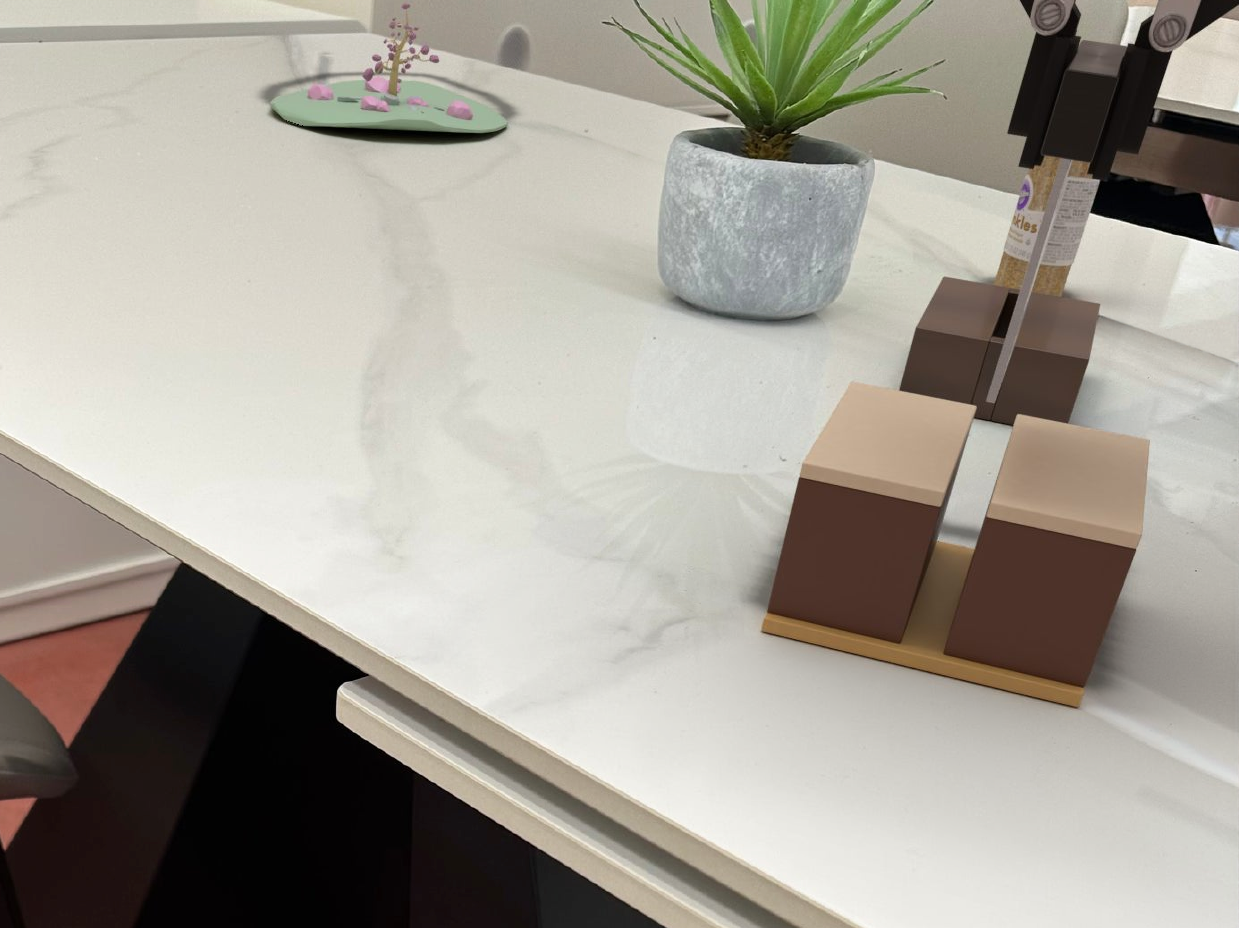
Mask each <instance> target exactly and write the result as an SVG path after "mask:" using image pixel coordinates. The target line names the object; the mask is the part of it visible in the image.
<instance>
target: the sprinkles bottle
mask: <svg viewBox="0 0 1239 928" xmlns="http://www.w3.org/2000/svg"><path fill="white" fill-rule="evenodd" d="M1060 160H1061V158H1057V157H1051V156H1045V157H1044V159H1043V162H1042V164H1041V166H1036V165H1035V167H1034V169H1029V168H1028V171H1027V174H1026V175H1025V177H1024V179H1023V183H1022V187H1021V189H1020V193H1019V196H1018V199H1017V203H1016V207H1015V210H1014V213H1013V216H1012V219H1011V223H1010V226H1009V229H1008V232H1007V235H1006V238H1005V243H1004V246H1003V253H1002V256H1001V259H1000V263H999V265H998V266H999V267H998V268H997V272H996V275H995V279H994V281H993V285H996V286H1002V287H1008V288H1013V289H1019V290H1021V286H1022V283H1023V280H1024V277H1025V273H1026V270H1027V267H1028V264H1029V261H1030V257H1031V254H1032V251H1033V248H1034V244H1035V241H1036V238H1037V235H1038V231H1039V228H1040V225H1041V222H1042V218H1043V215H1044V212H1045V209H1046V205H1047V202H1048V199H1049V196H1050V192H1051V189H1052V186H1053V183H1054V180H1055V176H1056V173H1057V170H1058V167H1059V163H1060ZM1089 165H1090V163H1088V162H1082V161H1076V160H1072V164H1071V167H1070V170H1069V173H1068V176H1067V180H1066V183H1065V186H1064V189H1063V192H1062V196H1061V199H1060V202H1059V205H1058V208H1057V211H1056V215H1055V218H1054V221H1053V224H1052V227H1051V231H1050V234H1049V237H1048V240H1047V243H1046V247H1045V250H1044V253H1043V256H1042V259H1041V263H1040V266H1039V269H1038V272H1037V275H1036V279H1035V282H1034V285H1033V288H1032V291H1031V293H1032V292H1036V293H1042V294H1047V295H1053V296H1059V297H1063V296H1062V295H1063V294H1064V290H1065V286H1066V284H1067V281H1068V277H1069V276H1070V275H1069V274H1070V271H1071V269H1072V266H1073V264H1074V262H1075V259H1076V256H1077V253H1078V252H1079V251H1078V250H1079V248H1080V244H1081V241H1082V238H1083V236H1084V232H1085V229H1086V226H1087V222H1088V220H1089V216H1090V213H1091V210H1092V207H1093V204H1094V201H1095V198H1096V194H1097V192H1098V189H1099V185H1100V182H1101V180H1096V179H1092V176H1093V175H1091V174H1087V172H1088V168H1089Z"/></svg>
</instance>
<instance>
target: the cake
mask: <svg viewBox="0 0 1239 928" xmlns="http://www.w3.org/2000/svg"><path fill="white" fill-rule="evenodd" d="M976 408H977V407H976V406H975V405H970V404H964V403H959V402H954V401H949V400H944V399H939V398H934V397H929V396H924V395H918V394H913V393H908V392H903V391H899V389H898V390H897V389H892V388H887V387H882V386H877V385H871V384H868V383H867V384H866V383H861V382H857V381H851V382H850V383H849V385H848V386H847V388H846V390H845V392H843V395H842V396H841V398H840V399H839V402H838V403H837V405H836V406H835V408H834V410H833V411H832V413H831V415H830V416H829V418H828V420H827V421H826V423H825V424H824V427H822V430H821V431H820V433H819V434H818V437H817V438H816V439H815V441H814V443H813V445H812V446H811V448H810V450H809V451H808V453H807V454H806V456H805V458H804V460H803V461H802V463H801V467H800V470H799V477H798V478H797V483H796V488H795V491H794V495H793V496H794V497H793V500H792V505H791V508H790V513H789V517H788V522H787V526H786V530H785V534H784V538H783V543H782V547H781V551H780V555H779V559H778V563H777V568H776V570H775V571H776V572H775V576H774V580H773V585H772V587H771V588H772V589H771V592H770V597H769V601H768V605H767V608H766V614H765V615H764V617H763V620H762V624H761V629H760V630H761V632H764V633H767V634H772V635H776V636H780V637H785V638H789V639H793V640H797V641H801V642H806V643H809V644H814V645H817V646H822V647H826V648H831V649H834V650H838V651H841V652H846V653H850V654H855V655H858V656H863V657H868V658H871V659H875V660H880V661H885V662H889V663H892V664H896V665H901V666H905V667H909V668H912V669H917V670H921V671H925V672H929V673H934V674H938V675H942V676H947V677H950V678H954V679H958V680H963V681H967V682H970V683H975V684H978V685H983V686H986V687H987V686H988V687H991V688H996V689H999V690H1005V691H1008V692H1012V693H1017V694H1021V695H1024V696H1029V697H1033V698H1037V699H1041V700H1045V701H1049V702H1054V703H1058V704H1062V705H1066V706H1070V707H1074V708H1079V707H1080V705H1081V702H1082V700H1083V697H1084V693H1085V688H1086V687H1087V683H1088V681H1089V678H1090V676H1091V672H1092V670H1093V667H1094V664H1095V662H1096V659H1097V657H1098V654H1099V651H1100V649H1101V646H1102V643H1103V640H1104V638H1105V636H1106V633H1107V629H1108V628H1109V624H1110V623H1111V619H1112V616H1113V614H1114V612H1115V609H1116V606H1117V603H1118V600H1119V598H1120V595H1121V592H1122V590H1123V588H1124V585H1125V582H1126V579H1127V577H1128V574H1129V571H1130V569H1131V566H1132V563H1133V561H1134V558H1135V555H1136V553H1137V549H1138V547H1139V545H1140V542H1141V539H1142V537H1143V529H1144V518H1145V508H1146V507H1145V504H1146V494H1147V482H1148V481H1147V480H1148V470H1149V469H1148V468H1149V457H1150V447H1151V446H1150V444H1151V440H1150V439H1148V438H1143V437H1138V436H1133V435H1128V434H1123V433H1117V432H1113V431H1107V430H1103V429H1097V428H1092V427H1086V426H1082V425H1076V424H1072V423H1068V424H1067V423H1062V422H1056V421H1051V420H1046V419H1041V418H1036V417H1031V416H1026V415H1021V414H1017V416H1016V419H1015V422H1014V425H1012V429H1011V431H1010V436H1009V439H1008V441H1007V445H1006V448H1005V451H1004V454H1003V458H1002V460H1001V464H1000V466H999V470H998V473H997V476H996V480H995V483H994V486H993V489H992V493H991V496H990V498H989V502H988V505H987V508H986V512H985V515H984V518H983V521H982V524H981V528H980V530H979V534H978V537H977V540H976V544H975V547H974V548H972V547H967V546H962V545H958V544H955V543H949V542H945V541H939V540H938V539H939V536H940V533H941V530H942V526H943V522H944V520H945V516H946V513H947V509H948V505H949V502H950V498H951V495H952V493H953V488H954V485H955V482H956V478H957V476H958V472H959V468H960V464H961V463H962V462H961V461H962V459H963V455H964V452H965V449H966V445H967V442H968V438H969V434H970V431H971V429H972V424H973V421H974V418H975V417H974V415H975V412H976Z"/></svg>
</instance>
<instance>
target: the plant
mask: <svg viewBox="0 0 1239 928" xmlns="http://www.w3.org/2000/svg"><path fill="white" fill-rule="evenodd" d="M409 8H411V4H409V3H407V2H405V3H403V4H402V5H401V9H403V10H405V11H406V12H405V21H406V22H405V23H406V24H405V25H404V24H403V23H401V22H397V23H396V19H397V18H396V17H393V18H392V21H391V22H390V23H389V24H388V27H389V28H390V29H392V30H394V29H395V28H396V27H397V28H400V29H401V28H402V29H403V30H405V33H404V36H403V38H402V40H401V42H400V43H398V42H397V41H396V40H397V38H395V39H391V40H388V38H385V39H384V40H383V44H387V42H388V44H387V45H386V47H387V49H388V50H389V52H388V53H387V56H388V58H387V60H386V61H385V62H383V61H382V56H381V55H379V54H377V53H375V54H374V55H372V56H371V59H372V60H373V62H377V63H376V64H375V66H374V69H373V68H372V67H369V68H366V69H365V71H364V72H363V73H362V78H363V79H353V80H344V81H343V80H342V81H337V82H333V83H329V84H328V83H327V84H323V83H313V84H312V86H311V87H309V88H306V89H303V90H298V91H294V92H289V93H285V94H281V95H277V96H276V97H275V98H273V99H272V100H271V101H270V102H269V106H270V107H271V108H272V109H273V110H274V111H275V112H276V113H277V114H278V115H279V116H280V117H281V118H282V119H283V120H285V121H286V120H287V121H286V122H288V121H290V122H293V123H292V124H294V123H296V124H295V125H297V124H299V125H298V126H302V125H303V126H304V127H324V128H325V127H326V128H329V127H330V128H346V129H348V128H349V129H369V130H373V129H374V130H392V131H393V130H395V131H396V130H397V131H419V132H443V133H471V134H473V133H474V134H484V133H492V132H497V131H500V130H502V129H504V128H506V127H507V126H508V123H509V121H508V120H507V118H505V117H504V116H503V115H502V114H500V113H498V112H497V111H496V110H494V109H492V108H491V107H489V106H488V105H487V104H484V103H483V102H480V101H477V100H475V99H472V98H470V97H467V96H464V95H462V94H460V93H457V92H454V91H451V90H450V89H447V88H445V87H442V86H439V85H436V84H433V83H429V82H426V81H420V80H402V78H399V67H400V66H399V65H402V66H403V67H402V68H401V69H400V72H401V73H402V74H403V75H404V74H406V72H407V71H406V70H409V69H411V68H412V64H411V63H410V62H413V61H414V60H419V61H421V62H423V63H424V62H425V63H426V62H430V63H433V64H439V62H440V58H439V56H438V55H437V54H431V55H430V56H429V58H428V59H425V60H424V59H423V58H422V59H421V56H420V53H421V54H422V55H423V56H427V55H429V53H430V47H429V45H428V44H424V45H422V46H421V48H420V50H419V52H418V53H417V54H415V53H416V48H414V47H411V45H412V44H414V43H413V41H414V40H415V39H416V38H417V34H416V33H415V32H416V31H419V29H420V27H418V26H414V27H412V26H411V25H409V18H408V17H409V16H408V10H407V9H409ZM395 35H396V33H395V32H394V31H392V32H391V33H390V36H391V38H393V37H394V36H395ZM400 36H401V32H398V33H397V37H400ZM408 39H409V40H408ZM407 41H408V44H409V45H410V47H409V49H405V50H403V49H404V47H405V45H406V43H407ZM403 53H410V54H411V55H412V56H410V57H409V56H406V57H405V58H404V59H403V58H401V54H403ZM389 61H392V64H391V67H388V64H389ZM384 63H386V64H385V65H384ZM404 64H405V65H404ZM384 70H385V71H387V72H390V76H389V79H386V78H385V77H382V76H375V75H379V74H380V75H381V74H382V73H383V71H384ZM290 122H289V123H290ZM303 126H302V127H303Z"/></svg>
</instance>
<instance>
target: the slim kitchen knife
mask: <svg viewBox="0 0 1239 928" xmlns="http://www.w3.org/2000/svg"><path fill="white" fill-rule="evenodd" d="M1126 48H1127V45H1123V44H1115V43H1108V42H1101V41H1093V40H1086V39H1083V40H1080V43H1079V47H1078V50H1077V52H1076V54H1075V55H1074V57H1073V59H1072V60H1071V62H1070V63H1069V65H1068V67H1067V69H1066V71H1065V74H1064V77H1063V80H1062V84H1061V87H1060V90H1059V94H1058V97H1057V100H1056V104H1055V107H1054V110H1053V114H1052V117H1051V120H1050V124H1049V127H1048V130H1047V134H1046V137H1045V140H1044V144H1043V147H1042V150H1041V154H1042V155H1044V156H1051V157H1057V158H1061V160H1060V163H1059V167H1058V170H1057V173H1056V176H1055V180H1054V183H1053V186H1052V189H1051V192H1050V196H1049V199H1048V202H1047V205H1046V209H1045V212H1044V215H1043V218H1042V222H1041V225H1040V228H1039V231H1038V235H1037V238H1036V241H1035V244H1034V248H1033V251H1032V254H1031V257H1030V261H1029V264H1028V267H1027V270H1026V273H1025V277H1024V280H1023V283H1022V286H1021V290H1020V293H1019V296H1018V299H1017V303H1016V306H1015V309H1014V312H1013V316H1012V319H1011V322H1010V325H1009V329H1008V332H1007V335H1006V338H1005V342H1004V345H1003V348H1002V351H1001V354H1000V358H999V361H998V364H997V367H996V371H995V374H994V377H993V380H992V384H991V387H990V390H989V393H988V397H987V400H986V401H987V402H990V403H995V401H996V398H997V395H998V392H999V389H1000V386H1001V383H1002V380H1003V378H1004V375H1005V372H1006V369H1007V366H1008V363H1009V360H1010V357H1011V354H1012V351H1013V348H1014V346H1015V343H1016V339H1017V336H1018V333H1019V330H1020V327H1021V323H1022V320H1023V317H1024V314H1025V311H1026V307H1027V304H1028V301H1029V298H1030V295H1031V291H1032V288H1033V285H1034V282H1035V279H1036V275H1037V272H1038V269H1039V266H1040V263H1041V259H1042V256H1043V253H1044V250H1045V247H1046V243H1047V240H1048V237H1049V234H1050V231H1051V227H1052V224H1053V221H1054V218H1055V215H1056V211H1057V208H1058V205H1059V202H1060V199H1061V196H1062V192H1063V189H1064V186H1065V183H1066V180H1067V176H1068V173H1069V170H1070V167H1071V164H1072V160H1076V161H1082V162H1088V163H1090V162H1092V160H1093V157H1094V154H1095V151H1096V148H1097V145H1098V141H1099V138H1100V135H1101V132H1102V129H1103V126H1104V123H1105V119H1106V116H1107V113H1108V110H1109V107H1110V104H1111V101H1112V98H1113V94H1114V91H1115V88H1116V85H1117V82H1118V79H1119V75H1120V72H1121V68H1122V66H1121V65H1122V61H1123V58H1124V55H1125V52H1126Z"/></svg>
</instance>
